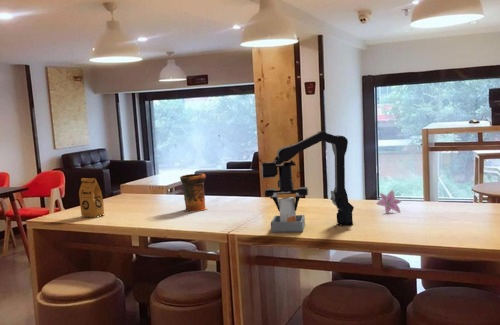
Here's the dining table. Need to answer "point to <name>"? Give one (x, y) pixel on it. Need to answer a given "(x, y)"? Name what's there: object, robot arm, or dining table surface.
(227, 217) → the dining table surface
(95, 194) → the coffee package
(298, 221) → the box
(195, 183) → the vessel
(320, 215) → the dining table surface
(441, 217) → the dining table surface
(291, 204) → the skincare box
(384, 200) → the lily
